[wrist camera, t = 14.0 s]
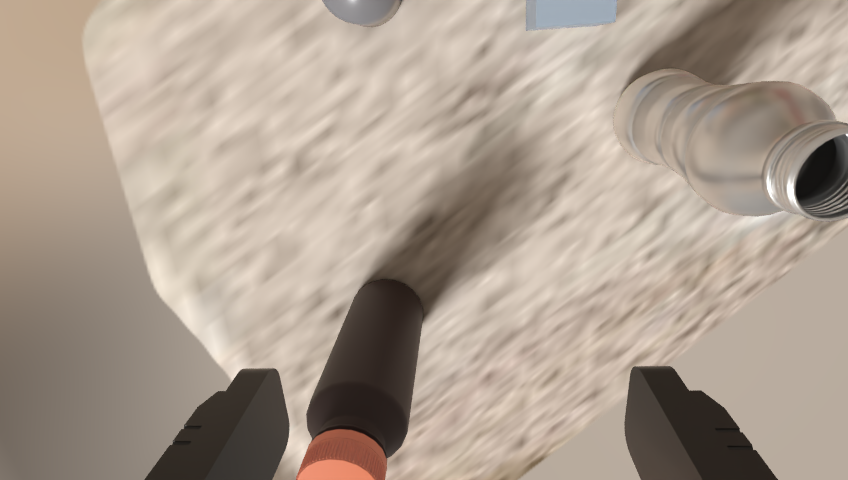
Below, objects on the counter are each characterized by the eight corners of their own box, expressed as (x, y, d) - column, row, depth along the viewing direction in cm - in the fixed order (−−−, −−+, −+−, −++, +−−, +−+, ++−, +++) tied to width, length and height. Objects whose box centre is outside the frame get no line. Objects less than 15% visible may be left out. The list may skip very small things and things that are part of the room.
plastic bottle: (705, 73, 35) (976, 97, 17) (675, 162, 38) (881, 267, 19) (619, 61, 35) (796, 71, 17) (595, 150, 38) (725, 244, 19)
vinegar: (371, 265, 43) (306, 425, 25) (436, 298, 44) (420, 478, 25) (341, 320, 46) (260, 504, 27) (403, 351, 46) (365, 549, 28)
